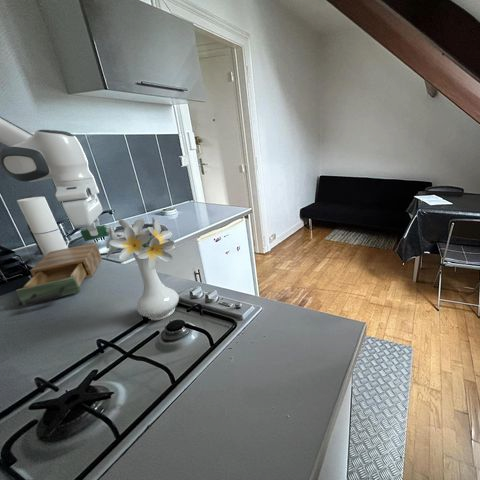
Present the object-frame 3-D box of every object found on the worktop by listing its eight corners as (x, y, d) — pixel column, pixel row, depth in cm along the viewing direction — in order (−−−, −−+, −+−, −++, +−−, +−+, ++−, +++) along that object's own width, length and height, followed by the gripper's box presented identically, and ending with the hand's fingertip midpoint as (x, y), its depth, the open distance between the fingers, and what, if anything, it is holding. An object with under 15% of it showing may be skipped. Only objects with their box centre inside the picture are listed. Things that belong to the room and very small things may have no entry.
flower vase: (166, 339, 59) (130, 236, 50) (117, 319, 66) (79, 227, 57) (210, 306, 70) (188, 216, 60) (164, 292, 77) (138, 211, 68)
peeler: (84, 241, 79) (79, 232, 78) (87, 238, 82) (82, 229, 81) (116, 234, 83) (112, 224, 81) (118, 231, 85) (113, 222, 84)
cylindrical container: (43, 265, 100) (11, 202, 90) (55, 258, 106) (26, 197, 97) (65, 262, 101) (35, 199, 92) (75, 255, 108) (49, 195, 99)
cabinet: (92, 276, 89) (85, 259, 87) (39, 288, 83) (29, 270, 81) (102, 258, 104) (96, 243, 101) (57, 267, 98) (49, 251, 95)
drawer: (75, 299, 75) (68, 285, 73) (15, 314, 69) (6, 299, 67) (91, 270, 92) (86, 258, 90) (45, 280, 86) (38, 267, 85)
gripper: (74, 186, 83) (91, 227, 89) (52, 196, 67) (74, 246, 72) (98, 183, 86) (113, 223, 91) (83, 193, 69) (103, 240, 75)
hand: (96, 233), depth 81 cm, fingers closed on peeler, 2 cm apart
